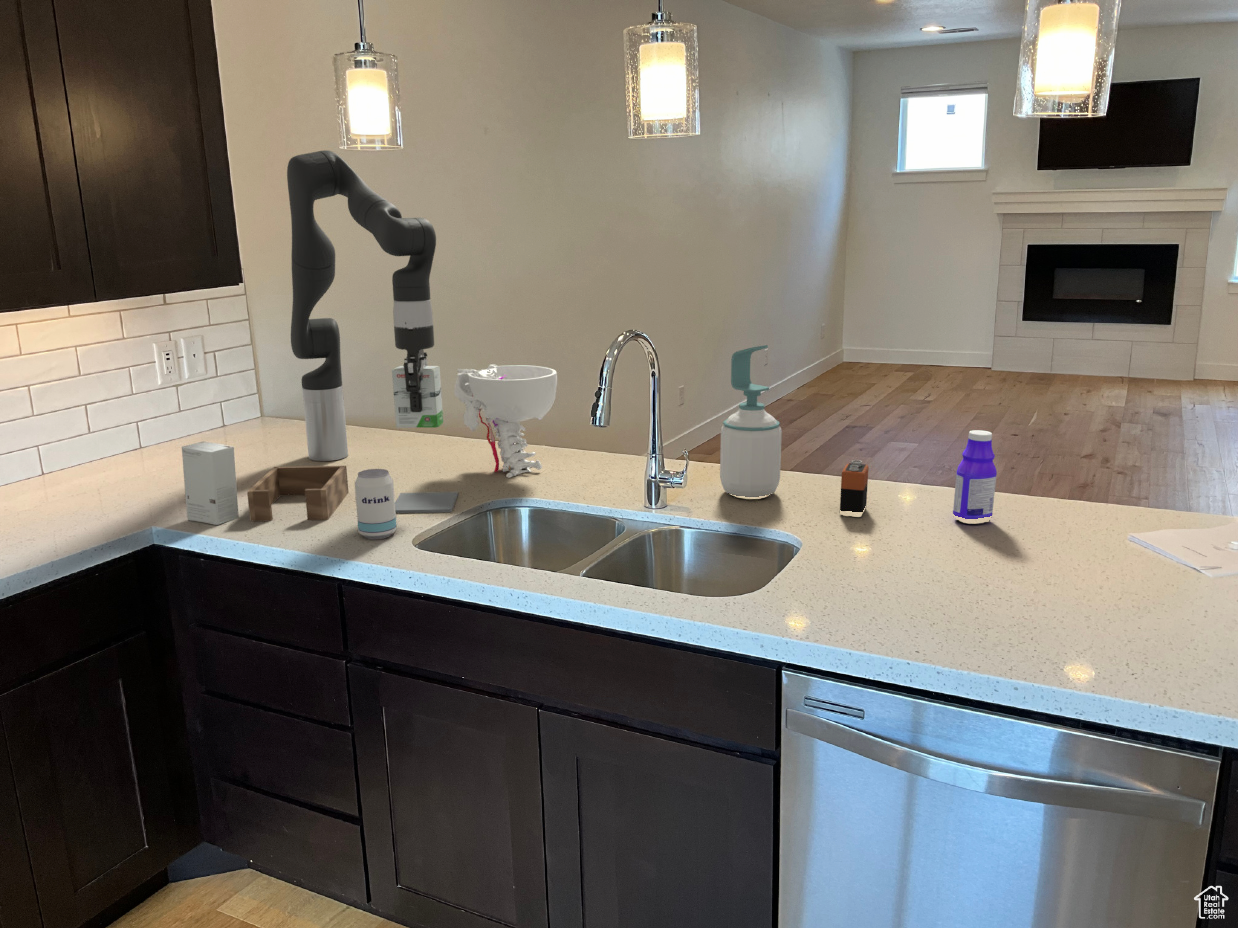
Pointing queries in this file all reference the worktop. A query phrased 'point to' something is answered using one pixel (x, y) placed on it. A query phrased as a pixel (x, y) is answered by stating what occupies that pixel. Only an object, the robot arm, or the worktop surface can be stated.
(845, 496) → the battery
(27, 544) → the worktop surface
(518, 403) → the skull
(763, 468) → the soap bottle
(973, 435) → the bottle
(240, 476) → the worktop surface
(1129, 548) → the worktop surface
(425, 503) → the mat
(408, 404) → the ink box
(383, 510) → the beverage can
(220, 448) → the skincare box
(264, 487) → the crate
